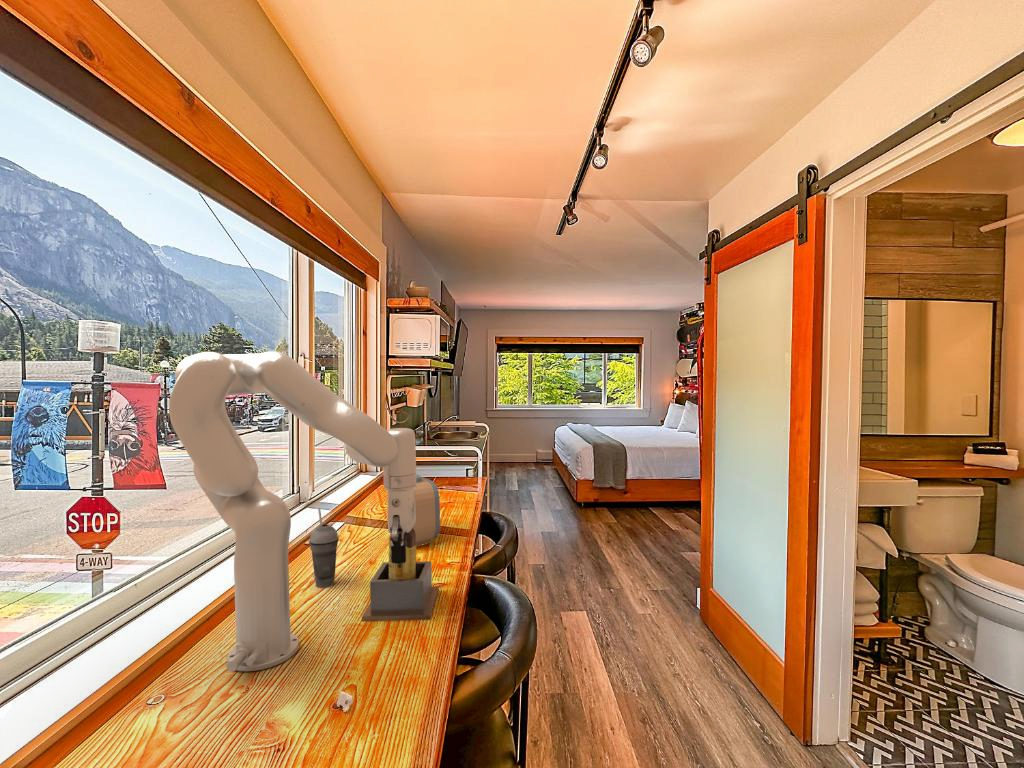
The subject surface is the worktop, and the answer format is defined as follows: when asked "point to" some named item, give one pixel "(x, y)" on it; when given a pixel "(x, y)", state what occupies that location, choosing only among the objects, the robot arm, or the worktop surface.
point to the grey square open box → (401, 595)
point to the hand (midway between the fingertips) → (402, 556)
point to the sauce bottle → (409, 567)
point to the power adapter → (344, 700)
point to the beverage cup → (324, 553)
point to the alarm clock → (426, 511)
